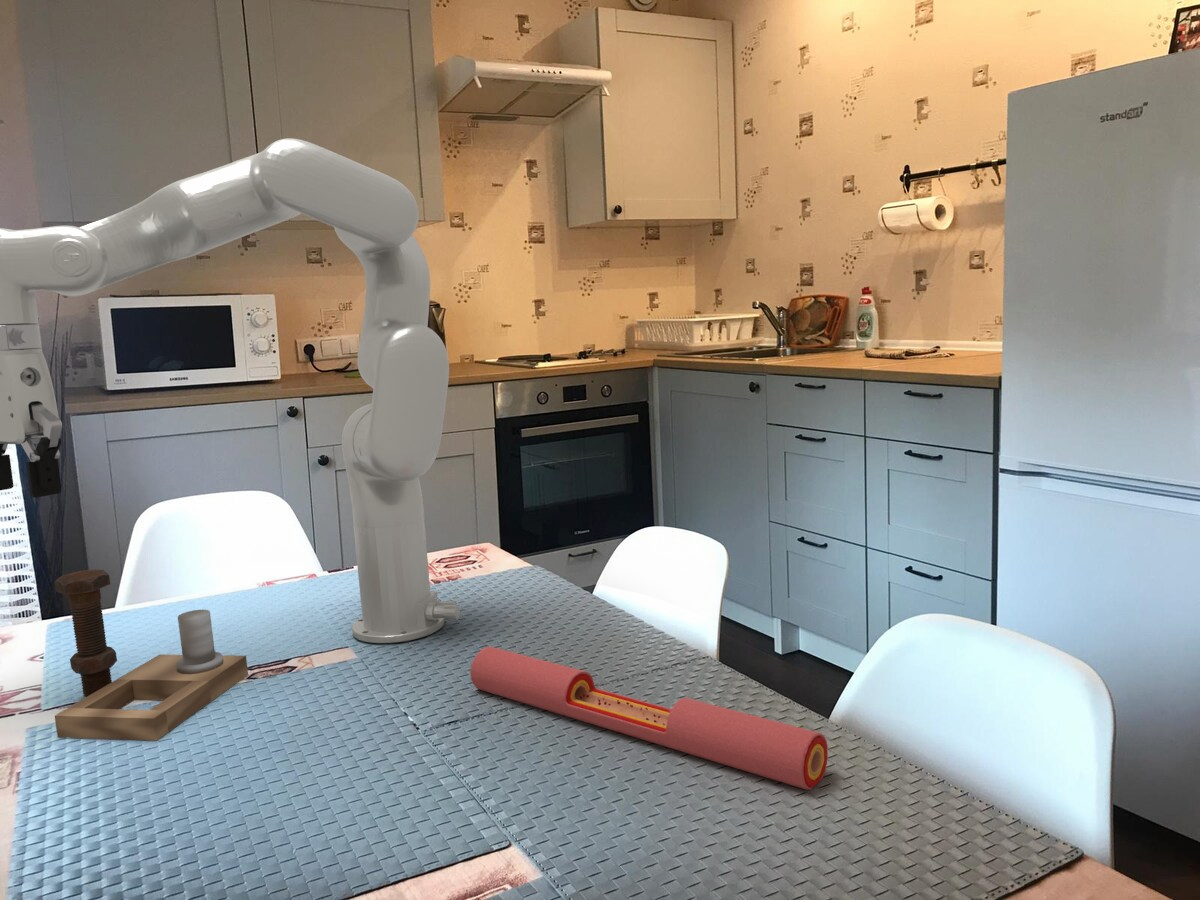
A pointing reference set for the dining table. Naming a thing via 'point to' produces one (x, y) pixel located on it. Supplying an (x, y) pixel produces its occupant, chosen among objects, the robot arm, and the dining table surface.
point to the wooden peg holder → (158, 689)
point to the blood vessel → (659, 718)
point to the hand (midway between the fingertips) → (21, 492)
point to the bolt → (88, 627)
